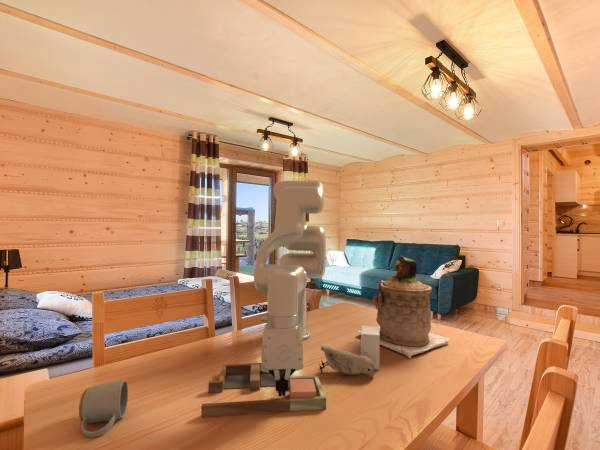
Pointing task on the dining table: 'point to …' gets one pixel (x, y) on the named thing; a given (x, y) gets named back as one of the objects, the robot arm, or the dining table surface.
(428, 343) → the cookie jar
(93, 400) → the ceramic mug
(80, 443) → the dining table surface
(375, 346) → the small box
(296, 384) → the block
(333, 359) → the decorative bird
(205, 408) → the trap run
